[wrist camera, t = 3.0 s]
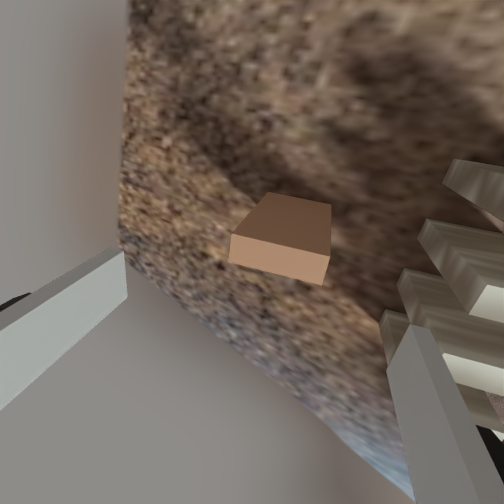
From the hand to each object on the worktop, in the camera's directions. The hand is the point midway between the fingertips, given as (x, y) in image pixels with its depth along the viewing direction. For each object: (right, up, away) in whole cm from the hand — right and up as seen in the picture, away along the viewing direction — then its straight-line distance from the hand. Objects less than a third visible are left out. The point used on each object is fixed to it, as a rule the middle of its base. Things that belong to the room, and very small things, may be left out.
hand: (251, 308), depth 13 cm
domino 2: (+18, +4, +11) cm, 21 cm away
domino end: (+4, +7, +14) cm, 16 cm away
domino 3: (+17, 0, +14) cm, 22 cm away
